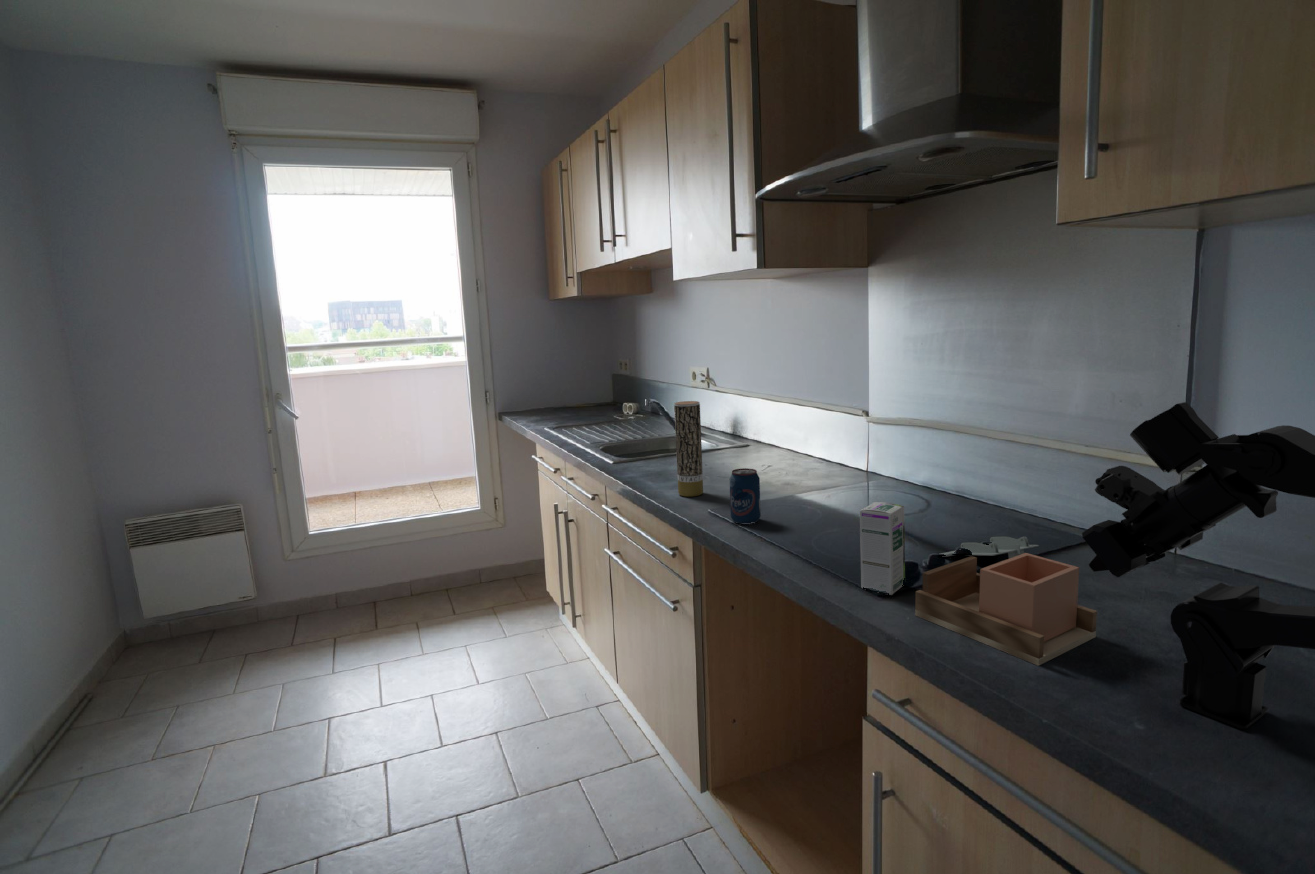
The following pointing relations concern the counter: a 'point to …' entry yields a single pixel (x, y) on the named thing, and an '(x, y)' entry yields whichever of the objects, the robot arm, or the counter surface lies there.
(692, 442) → the paper tube
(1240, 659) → the robot arm
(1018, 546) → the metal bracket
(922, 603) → the wooden bay
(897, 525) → the syrup box
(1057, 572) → the box
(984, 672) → the counter surface
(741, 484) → the soda can
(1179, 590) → the counter surface
